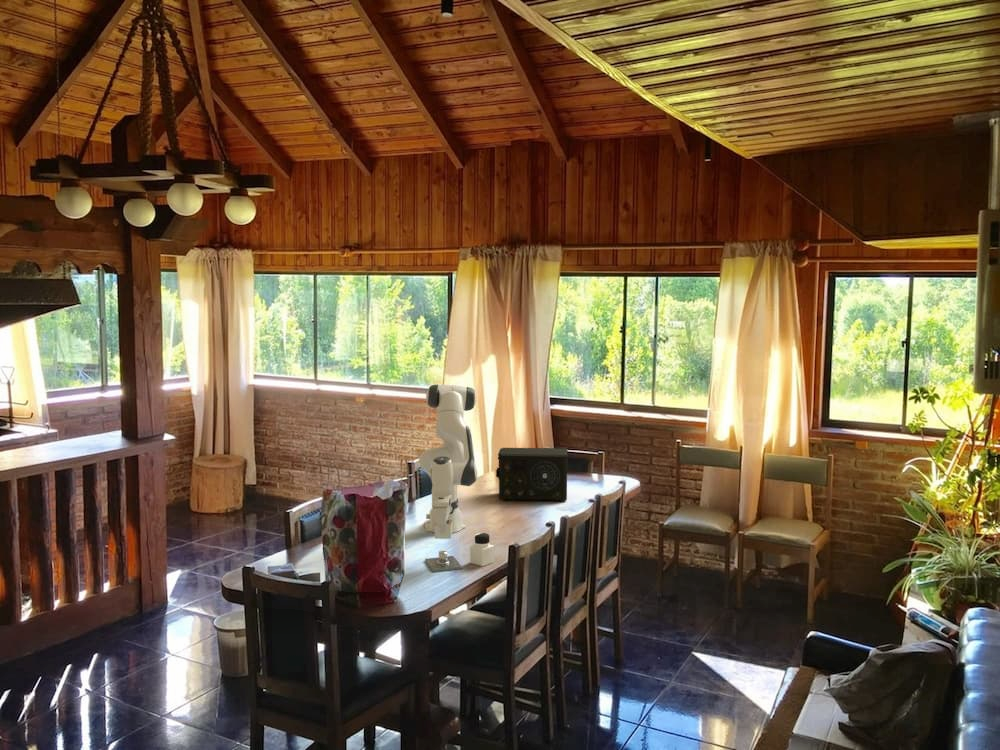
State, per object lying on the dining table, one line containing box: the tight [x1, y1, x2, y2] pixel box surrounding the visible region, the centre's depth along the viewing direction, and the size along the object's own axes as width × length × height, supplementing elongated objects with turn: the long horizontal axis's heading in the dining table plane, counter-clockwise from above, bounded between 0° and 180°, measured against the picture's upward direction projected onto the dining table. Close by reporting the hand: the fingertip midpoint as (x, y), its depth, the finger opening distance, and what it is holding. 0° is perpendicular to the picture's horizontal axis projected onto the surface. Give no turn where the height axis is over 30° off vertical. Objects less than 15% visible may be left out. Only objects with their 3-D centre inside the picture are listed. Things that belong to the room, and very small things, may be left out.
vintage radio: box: [495, 447, 569, 503], centre depth 458 cm, size 38×20×25 cm, turn 85°
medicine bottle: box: [469, 532, 495, 567], centre depth 356 cm, size 7×7×12 cm
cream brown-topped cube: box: [434, 520, 453, 540], centre depth 352 cm, size 7×7×6 cm
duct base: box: [424, 550, 463, 573], centre depth 354 cm, size 14×12×5 cm
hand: (443, 531), depth 352 cm, fingers closed on cream brown-topped cube, 6 cm apart
